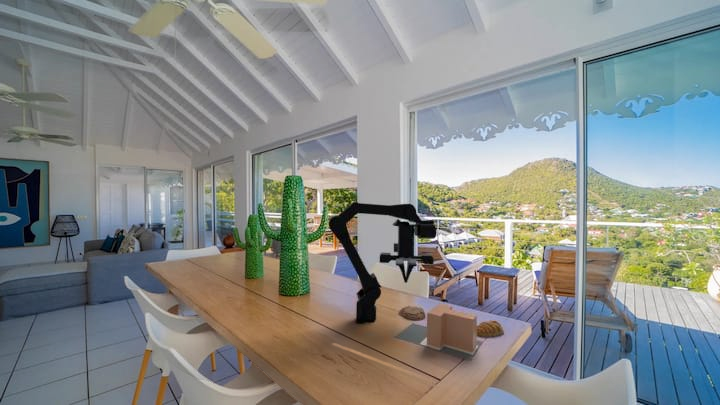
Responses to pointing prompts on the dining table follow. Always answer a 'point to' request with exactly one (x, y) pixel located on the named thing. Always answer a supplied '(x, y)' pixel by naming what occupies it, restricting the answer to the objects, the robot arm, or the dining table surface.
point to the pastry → (489, 329)
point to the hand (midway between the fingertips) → (405, 282)
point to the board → (419, 337)
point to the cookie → (412, 313)
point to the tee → (451, 328)
